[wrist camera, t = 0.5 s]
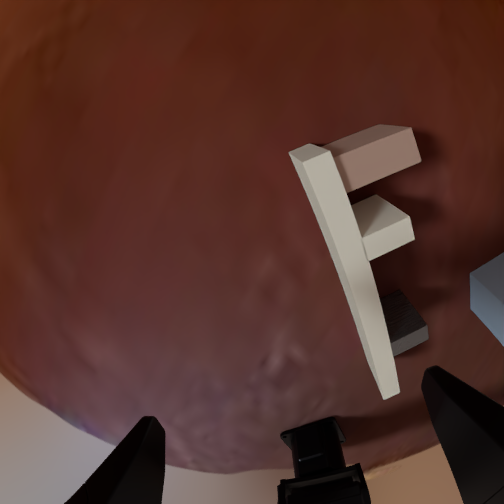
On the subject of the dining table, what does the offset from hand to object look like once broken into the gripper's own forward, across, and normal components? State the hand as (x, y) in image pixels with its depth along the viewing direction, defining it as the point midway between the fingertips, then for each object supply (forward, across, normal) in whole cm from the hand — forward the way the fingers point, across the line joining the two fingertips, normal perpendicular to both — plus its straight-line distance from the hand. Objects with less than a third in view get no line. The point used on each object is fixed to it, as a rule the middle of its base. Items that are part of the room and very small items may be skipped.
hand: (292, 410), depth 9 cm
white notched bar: (+14, -8, +3) cm, 16 cm away
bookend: (+14, -9, +10) cm, 19 cm away
